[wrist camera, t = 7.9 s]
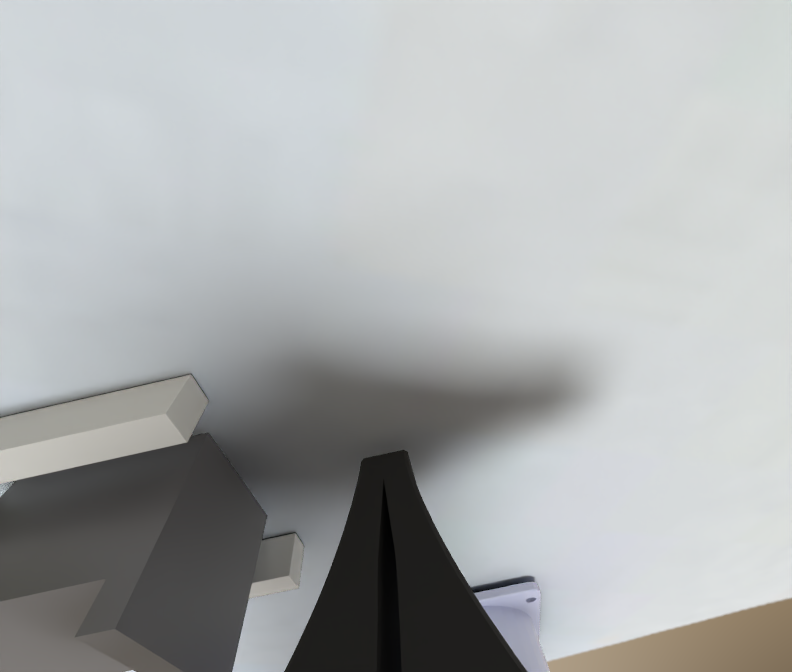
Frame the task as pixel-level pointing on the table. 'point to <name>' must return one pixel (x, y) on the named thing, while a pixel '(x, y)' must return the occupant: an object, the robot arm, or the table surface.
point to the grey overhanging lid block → (128, 564)
